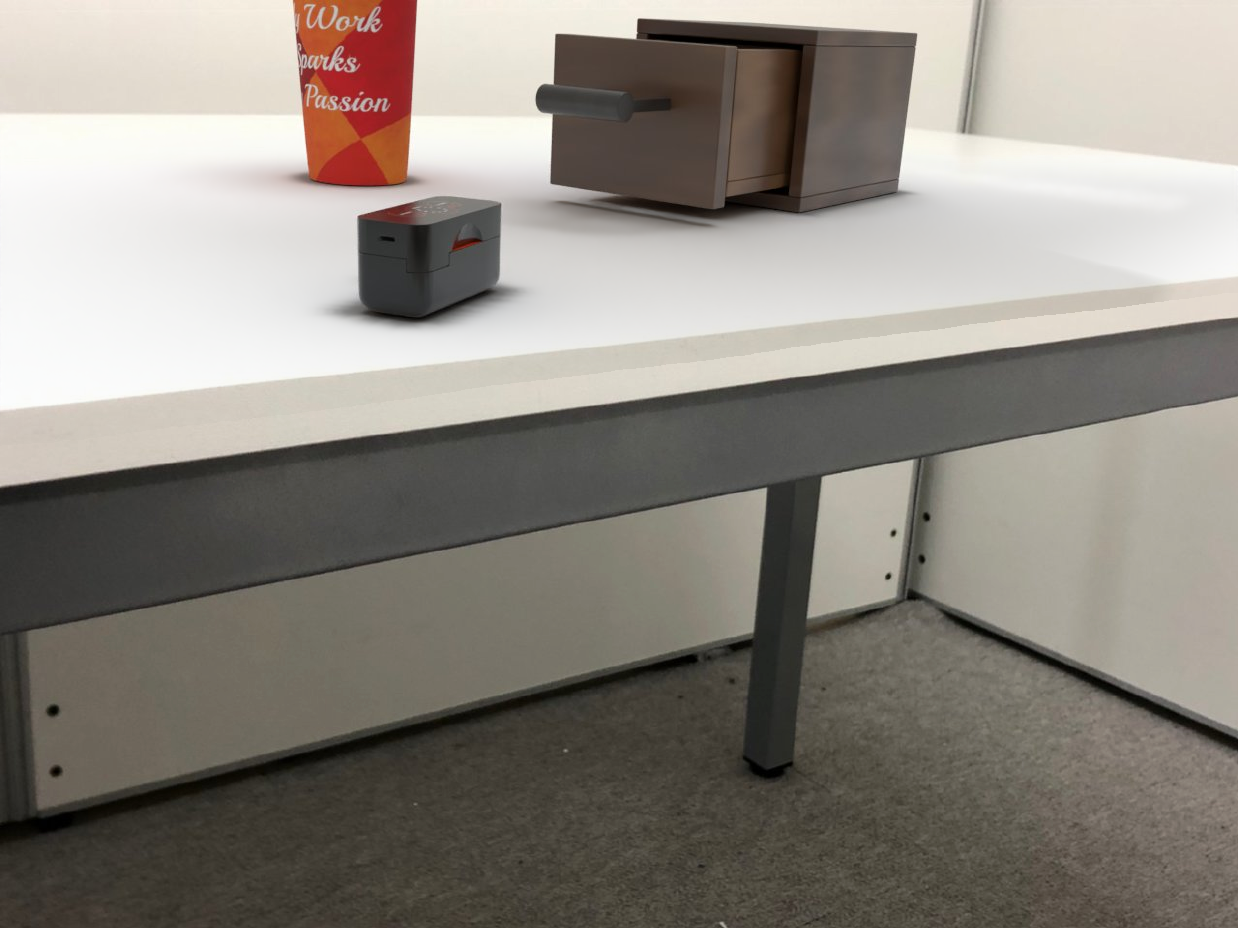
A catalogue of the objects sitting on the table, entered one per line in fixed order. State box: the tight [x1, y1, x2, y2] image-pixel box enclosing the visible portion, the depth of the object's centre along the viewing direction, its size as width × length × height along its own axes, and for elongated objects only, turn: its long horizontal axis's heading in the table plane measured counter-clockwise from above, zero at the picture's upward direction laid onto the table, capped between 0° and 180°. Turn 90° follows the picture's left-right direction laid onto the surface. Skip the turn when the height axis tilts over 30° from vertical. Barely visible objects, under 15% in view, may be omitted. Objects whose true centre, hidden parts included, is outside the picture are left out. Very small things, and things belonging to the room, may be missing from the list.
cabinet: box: [635, 17, 918, 213], centre depth 77 cm, size 14×12×10 cm
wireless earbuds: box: [356, 195, 502, 318], centre depth 46 cm, size 5×7×3 cm, turn 159°
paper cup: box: [292, 0, 418, 187], centre depth 71 cm, size 8×8×14 cm
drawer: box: [534, 33, 803, 210], centre depth 68 cm, size 17×10×8 cm, turn 145°
